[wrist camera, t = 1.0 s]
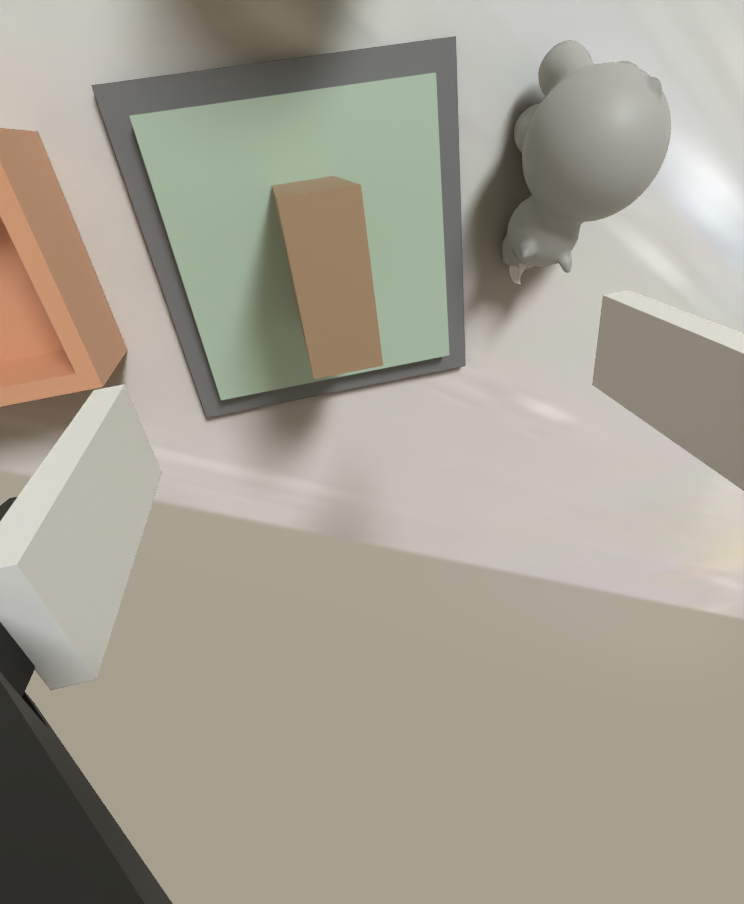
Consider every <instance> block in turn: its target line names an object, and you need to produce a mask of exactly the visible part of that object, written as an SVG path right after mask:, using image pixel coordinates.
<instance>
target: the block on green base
mask: <svg viewBox="0 0 744 904" xmlns="http://www.w3.org/2000/svg"><path fill="white" fill-rule="evenodd" d="M129 117H130V120H131V123H132V126H133V129H134V132H135V135H136V138H137V141H138V144H139V148H140V151H141V154H142V157H143V160H144V163H145V166H146V169H147V172H148V175H149V179H150V182H151V185H152V188H153V191H154V194H155V197H156V200H157V203H158V206H159V210H160V213H161V216H162V219H163V222H164V225H165V228H166V231H167V234H168V237H169V241H170V244H171V247H172V250H173V253H174V256H175V259H176V262H177V265H178V268H179V272H180V275H181V278H182V281H183V284H184V287H185V290H186V293H187V296H188V299H189V303H190V306H191V309H192V312H193V315H194V318H195V321H196V324H197V327H198V330H199V334H200V337H201V340H202V343H203V346H204V349H205V352H206V355H207V358H208V361H209V365H210V368H211V371H212V374H213V377H214V380H215V383H216V386H217V389H218V393H219V396H220V399H221V400H226V399H231V398H236V397H241V396H246V395H251V394H256V393H261V392H267V391H272V390H277V389H282V388H287V387H292V386H297V385H302V384H307V383H312V382H317V381H322V380H327V379H332V378H337V377H342V376H347V375H352V374H357V373H362V372H368V371H373V370H378V369H383V368H388V367H393V366H398V365H403V364H408V363H413V362H418V361H423V360H428V359H433V358H438V357H443V356H448V355H449V335H448V314H447V293H446V272H445V250H444V229H443V208H442V187H441V166H440V145H439V124H438V103H437V81H436V73H429V74H421V75H414V76H407V77H400V78H393V79H386V80H379V81H372V82H365V83H358V84H351V85H344V86H337V87H329V88H322V89H315V90H308V91H301V92H294V93H287V94H280V95H273V96H266V97H259V98H252V99H245V100H237V101H230V102H223V103H216V104H209V105H202V106H195V107H188V108H181V109H174V110H167V111H160V112H153V113H145V114H138V115H131V116H129Z"/></svg>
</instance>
